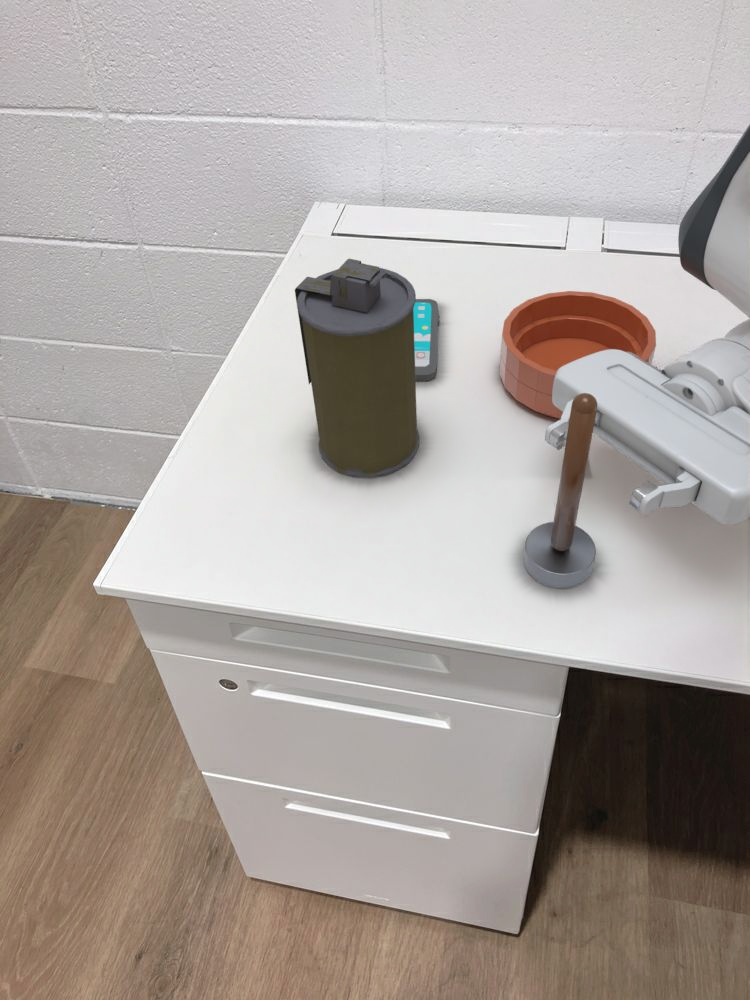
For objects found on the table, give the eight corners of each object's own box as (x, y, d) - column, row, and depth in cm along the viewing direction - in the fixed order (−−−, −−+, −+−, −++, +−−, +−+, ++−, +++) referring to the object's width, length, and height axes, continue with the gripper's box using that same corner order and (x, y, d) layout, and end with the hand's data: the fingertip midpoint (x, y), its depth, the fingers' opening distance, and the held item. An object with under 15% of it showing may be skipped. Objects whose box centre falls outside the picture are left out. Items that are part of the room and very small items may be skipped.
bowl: (662, 357, 90) (674, 311, 85) (618, 442, 81) (628, 396, 76) (531, 323, 95) (536, 279, 91) (476, 399, 86) (478, 353, 82)
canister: (435, 424, 84) (434, 250, 70) (393, 490, 78) (382, 314, 63) (343, 399, 88) (324, 230, 73) (296, 460, 81) (265, 288, 67)
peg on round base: (602, 550, 71) (640, 383, 58) (578, 599, 68) (613, 433, 54) (538, 527, 73) (561, 361, 60) (512, 573, 70) (530, 408, 56)
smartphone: (361, 373, 89) (370, 298, 99) (361, 380, 90) (370, 305, 100) (438, 373, 88) (439, 297, 98) (438, 380, 89) (439, 304, 99)
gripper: (622, 317, 73) (507, 377, 68) (825, 434, 61) (704, 517, 56) (611, 372, 78) (503, 432, 73) (798, 491, 66) (684, 573, 61)
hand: (592, 470), depth 64 cm, fingers open, 8 cm apart
